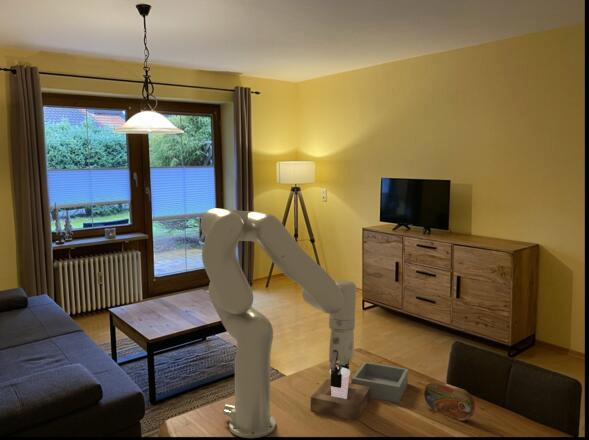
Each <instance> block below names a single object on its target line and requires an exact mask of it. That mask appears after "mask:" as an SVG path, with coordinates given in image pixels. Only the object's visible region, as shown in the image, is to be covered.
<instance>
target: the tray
mask: <svg viewBox="0 0 589 440" xmlns="http://www.w3.org/2000/svg"><path fill="white" fill-rule="evenodd" d="M350 379H351V380H350V383H352V384H357V385H362V386H368V387H370V399H375V400H376V399H377V400H383V401H386V402H392V403H396V404H397V403H398V404H400V402H401V400H402V397H403V395H404V393H405V391H406V389H407V387H408V385H409V368H404V367H399V366H392V365H387V364H381V363H374V362H369V361H368V362H367V361H363V362H362V364H361V365H360V366H359V368H358V369H357V370H356V371H355V373H354V374H353V375H352V377H351V378H350Z"/></svg>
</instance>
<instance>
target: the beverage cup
mask: <svg viewBox="0 0 589 440" xmlns="http://www.w3.org/2000/svg"><path fill="white" fill-rule="evenodd" d="M336 367H337V368H338V369H339V367H338V366H336ZM341 374H342V385H341V388H337V387H332V386H331V396H334V397H339V398H344V399H347V392H348V383H350V382H349V380H350V376H351V370H350V368H349V369H347V368H343V367H342V368H341ZM329 375H331V368H329Z"/></svg>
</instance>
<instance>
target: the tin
mask: <svg viewBox="0 0 589 440" xmlns="http://www.w3.org/2000/svg"><path fill="white" fill-rule="evenodd" d="M423 391H424V393H423V396H424V400H425V402H426V404H427V405H428V407H429V408H430V409H431V410H433V411H434V412H436V413H439V414H441V415H445V416H447V417H449V418H451V419H454V420H457V421H461V422H463V421H466V420H468V419H470V418H471V417H472V416H474V414H475V412H476V403H475V399H474V398H473V396H472V394H471V393H469V392H468V391H467V390H466V389H463V388H460V387H457V386H454V385H451V384H449V383H446V382H443V381H433V382H429V383H428V384H427V385H426V386H425V388H424V390H423Z"/></svg>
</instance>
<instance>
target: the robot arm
mask: <svg viewBox="0 0 589 440" xmlns="http://www.w3.org/2000/svg"><path fill="white" fill-rule="evenodd" d="M201 217H202V218H201V220H200V229H201V231H202V233H203V234H204V235H205V238H204V241H203V246H202V250H201V259H202V264H203V268H204V270H205V272H206V275H207V277H208V279H209V285H208V296H209V299H210V301H211V303H212V305H213V307H214V310H215V311H216V314H217V315H218V318H219V319H220V321H221V323H222V326H223V327H224V329H225V330H226V332H227V333H228V334H229V335H230V336H231V337H232V338H234V340H235V341H236V342H237V347H236V352H235V357H234V405H233V404H230V403H229V404H228V403H225V405H224V406H223V413H222V414H223V415H224V416H227V417H229V418H230V420H229V422H228V428H229V431H230V432H231V433H232V434H233V435H234V436H237V437H240V438H244V439H245V438H246V439H256V438H263V437H265V436H267V435H270V434H271V433H273V432H274V430H275V428H276V424H277V423H276V421H277V420H276V418H274V416H272V415H271V355H272V354H271V353H272V352H271V351H272V345H273V341H274V340H273V339H274V329H273V326H272V324H271V323H272V322H270V319H269V318H268V317H267V316H265V315H264V314H262V313H261V312H260V311H258V310H256V309H254V307H253V303H254V293H253V289H252V287H251V285H250V283H249V280H248V279H247V278H246V275H245V274H244V271H243V269H242V267H241V265H240V262H239V260H238V256H237V246H238V243H239V241H241V242H242V241H243V242H254V243H256V244H257V245H258V246H259V248H261V250H262V251H263V252H264V254H266V256H267V257H268V258H269V259H270V261H271V262H272V263H273V264H274V266H276V267H277V269H278V270H279V271H280V272H281V273H283V274H284V275H285V276H286V277H287V278H288V279H290V280H292V281H293V282H295V283H297V284H298V285H299V286H301V287H302V292H301V294H302V296H301V297H302V298H303V301H305V303H306V304H307V305H309V306H311V307H312V308H314V309H317V310H319V311H321V312H323V313H325V314H328V316H329V317H328V321H329V322H328V328H329V329H330V338H329V349H328V350H329V351H328V359H329V360H328V361H329V363H330V364H329V367H330V368H329V369H331V374H330V380H331V383H330V385H331V386H332V387H337V388H341V385H342V374H341V368H342V367H343V368H347V369H349V370H350V361H351V360H352V359H353V357H354V356H355V355H354V354H355V350H354V349H355V347H354V346H355V342H354V341H355V340H354V339H355V337H354V330H355V327H356V326H355V325H356V304H357V302H356V299H357V285H356V284H355V283H354V282H353V281H350V280H343V279H342V280H341V279H339V280H335V279H333V278H332V277H331V276H330V274H329V273H328V272H327V271H326V270H325V269H324V268H323V267H322V266H321V265H319V264H318V263H317V262H316V261H315V260H314V259H313V258H312V257H311V255H309V254H308V253H307V252H306V251H305V250H304V248H302V247H301V245H299V243H298V242H297V240H296V239H295V238H294V237H293V236H292V234H291V233H290V232H289V230H288V229H287V228H286V226H285V225H284V224H283V223H282V222H281V221H280V220H279V218H278V217H276V216H275V215H273V214H271V213H268V212H267V213H266V212H260V211H246V210H235V209H228V208H219V207H217V208H215V207H214V208H210V209H209V210H207V211H206V212H205V213H204V214H203V216H201ZM337 367H339V369H338V368H337Z"/></svg>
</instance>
